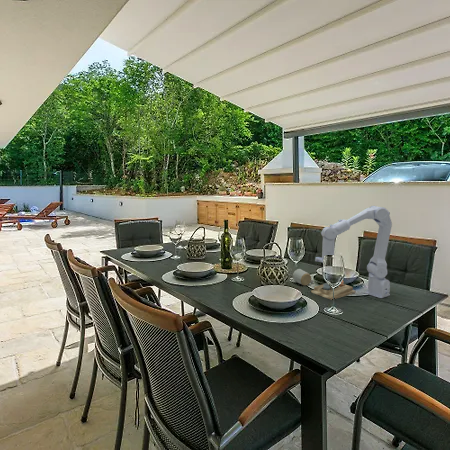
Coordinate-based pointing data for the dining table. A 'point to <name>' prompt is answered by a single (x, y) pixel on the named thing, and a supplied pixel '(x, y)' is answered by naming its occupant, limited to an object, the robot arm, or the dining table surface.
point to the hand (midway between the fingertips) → (327, 278)
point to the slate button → (326, 286)
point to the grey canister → (302, 277)
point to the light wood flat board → (337, 291)
